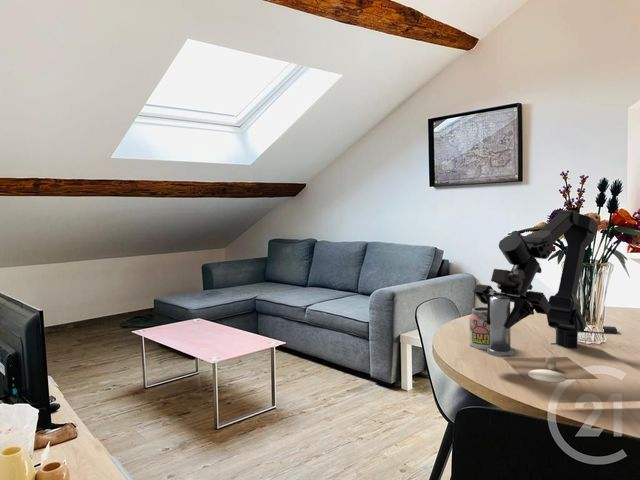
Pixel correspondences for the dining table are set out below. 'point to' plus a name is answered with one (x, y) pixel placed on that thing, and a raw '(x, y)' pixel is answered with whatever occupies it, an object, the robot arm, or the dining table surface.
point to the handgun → (605, 329)
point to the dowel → (550, 362)
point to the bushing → (500, 327)
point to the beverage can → (479, 328)
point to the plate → (538, 371)
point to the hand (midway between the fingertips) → (496, 325)
